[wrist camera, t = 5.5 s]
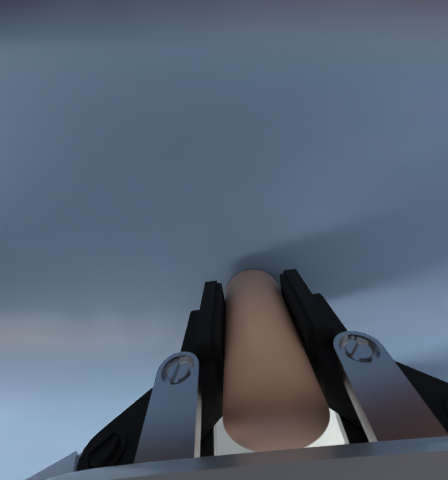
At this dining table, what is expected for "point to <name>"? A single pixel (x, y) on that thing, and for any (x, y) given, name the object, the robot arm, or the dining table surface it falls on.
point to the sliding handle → (267, 370)
